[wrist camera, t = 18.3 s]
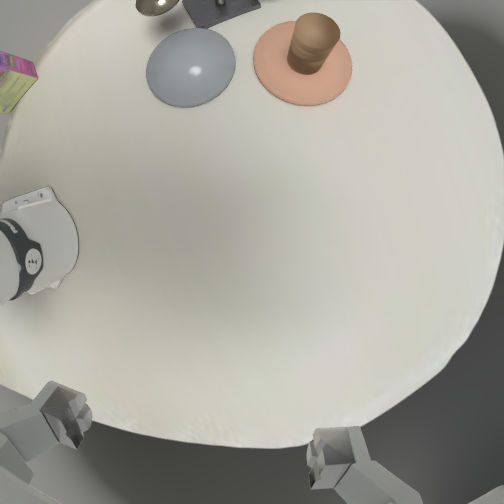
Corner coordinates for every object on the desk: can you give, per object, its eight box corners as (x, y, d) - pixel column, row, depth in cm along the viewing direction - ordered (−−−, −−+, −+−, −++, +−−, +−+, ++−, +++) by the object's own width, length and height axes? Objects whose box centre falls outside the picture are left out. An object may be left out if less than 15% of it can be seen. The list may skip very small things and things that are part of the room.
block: (285, 72, 33) (293, 43, 24) (288, 42, 32) (296, 9, 22) (321, 77, 33) (339, 52, 24) (323, 48, 32) (340, 17, 22)
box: (33, 60, 32) (-6, 48, 21) (38, 78, 33) (-3, 67, 22) (3, 96, 34) (-35, 92, 22) (8, 114, 35) (-33, 112, 24)
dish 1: (143, 108, 36) (140, 106, 35) (156, 34, 32) (154, 31, 31) (230, 108, 36) (229, 106, 35) (239, 31, 32) (239, 27, 31)
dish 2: (249, 99, 36) (249, 97, 34) (258, 19, 32) (258, 16, 30) (347, 113, 36) (350, 112, 34) (350, 34, 32) (352, 31, 30)
